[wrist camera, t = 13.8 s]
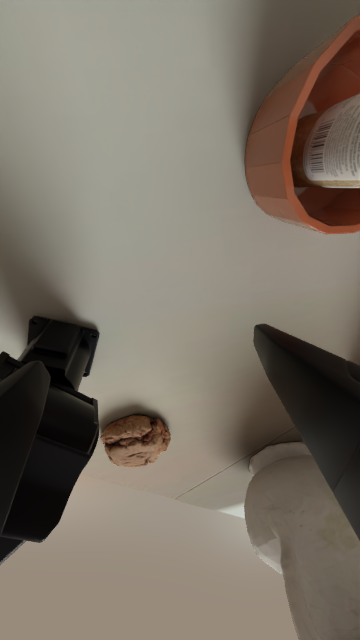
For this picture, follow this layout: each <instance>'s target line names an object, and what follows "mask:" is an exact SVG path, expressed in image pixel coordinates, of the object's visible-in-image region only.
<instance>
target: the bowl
mask: <svg viewBox="0 0 360 640" xmlns="http://www.w3.org/2000/svg"><path fill="white" fill-rule="evenodd" d="M357 94H360V14H359V15H357V16H355V17H354V18H352V19H351V20H350V21H349V22H347V23H346V24H345V25H344V26H343V27H341V28H340V29H339V30H338V31H336V32H335V33H334V34H333V35H332V36H330V37H329V38H328V39H327V40H325V41H324V42H323V43H322V44H321V45H319V46H318V47H317V48H316V49H314V50H313V51H312V52H311V53H310V54H308V55H307V56H306V57H305V58H303V59H302V60H301V61H300V62H299V63H297V64H296V65H295V66H294V67H292V68H291V69H290V70H289V71H288V72H287V73H286V74H285V76H284V77H283V78H282V79H281V80H280V81H279V82H278V83H277V84H276V85H275V86H274V87H273V89H272V90H271V91H270V93H269V94H268V95H267V97H266V98H265V100H264V101H263V103H262V105H261V106H260V108H259V110H258V112H257V114H256V116H255V119H254V121H253V124H252V127H251V129H250V133H249V137H248V141H247V146H246V153H245V173H246V179H247V184H248V187H249V190H250V192H251V195H252V197H253V199H254V200H255V202H256V204H257V205H258V206H259V207H260V208H261V209H262V210H263V211H264V212H265V213H266V214H268V215H270V216H271V217H273V218H276V219H278V220H281V221H283V222H285V223H289V224H292V225H296V226H299V227H303V228H306V229H310V230H313V231H317V232H320V233H324V234H341V233H354V232H357V231H359V230H360V188H326V187H322V186H309V187H303V188H297V187H294V186H293V178H292V171H291V163H290V158H291V152H292V147H293V142H294V137H295V131H296V126H297V122H298V121H299V120H301V119H302V118H303V117H305V116H307V115H310V114H313V113H319V112H322V111H324V110H326V109H328V108H330V107H332V106H334V105H335V104H337V103H339V102H341V101H344V100H346V99H348V98H351V97H353V96H355V95H357Z"/></svg>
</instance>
